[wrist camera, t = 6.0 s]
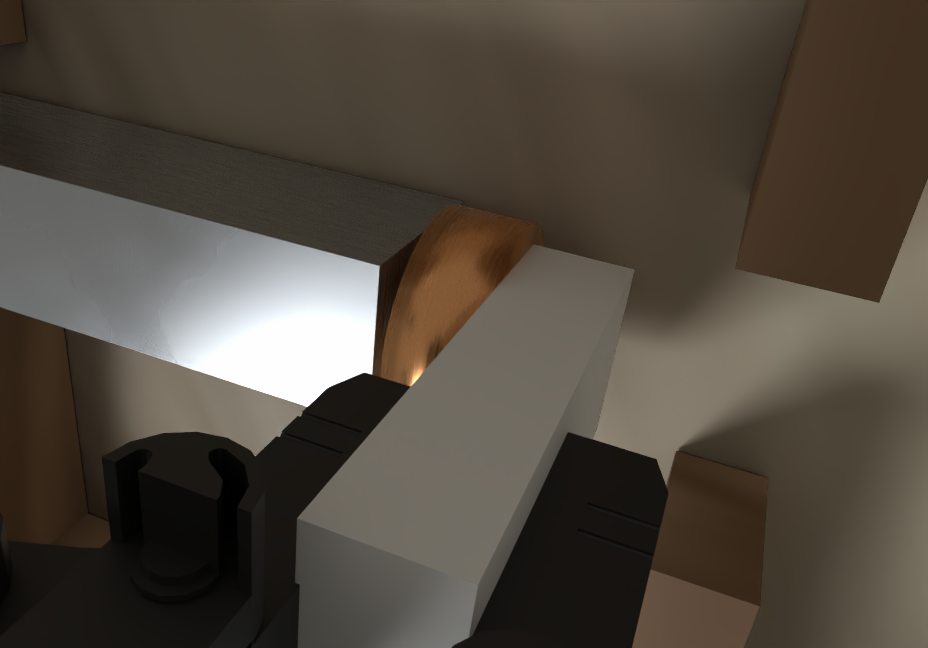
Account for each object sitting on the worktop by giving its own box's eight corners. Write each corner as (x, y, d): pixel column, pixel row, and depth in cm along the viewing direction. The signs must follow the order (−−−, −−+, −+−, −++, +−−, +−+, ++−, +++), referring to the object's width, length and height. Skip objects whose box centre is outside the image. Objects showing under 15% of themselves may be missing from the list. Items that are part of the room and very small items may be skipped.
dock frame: (47, 539, 21) (-55, 621, 19) (-115, -444, 12) (-354, -542, 10) (655, 789, 17) (630, 937, 15) (1093, -422, 8) (1226, -583, 6)
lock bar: (-208, 169, 19) (-393, 213, 16) (-253, 11, 17) (-467, 28, 14) (524, 383, 14) (452, 500, 11) (557, 195, 12) (483, 273, 10)
